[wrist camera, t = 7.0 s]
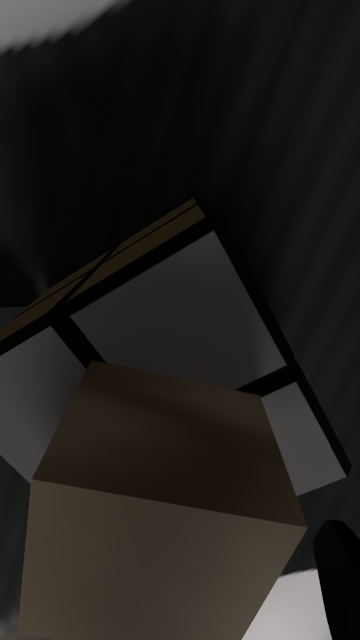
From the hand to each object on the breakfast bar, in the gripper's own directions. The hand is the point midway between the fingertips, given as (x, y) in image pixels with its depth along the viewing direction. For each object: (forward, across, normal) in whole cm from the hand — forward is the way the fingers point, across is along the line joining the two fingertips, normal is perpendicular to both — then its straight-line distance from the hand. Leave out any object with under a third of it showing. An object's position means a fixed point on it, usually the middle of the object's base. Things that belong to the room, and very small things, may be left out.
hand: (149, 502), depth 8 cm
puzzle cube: (+13, 0, 0) cm, 13 cm away
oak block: (+2, 0, 0) cm, 2 cm away
